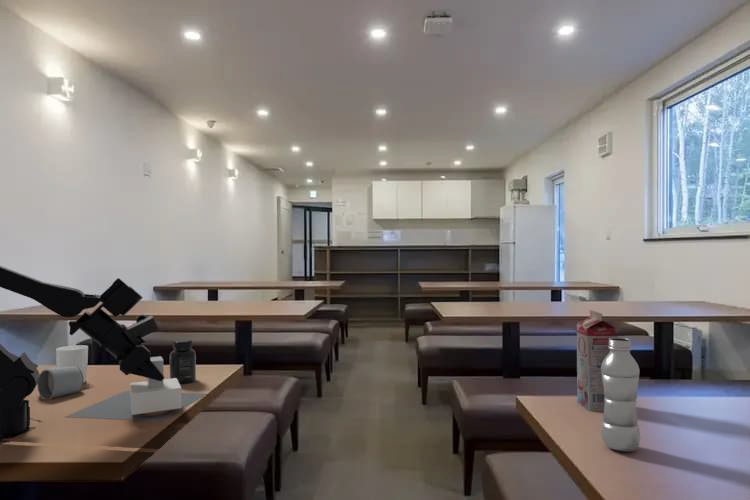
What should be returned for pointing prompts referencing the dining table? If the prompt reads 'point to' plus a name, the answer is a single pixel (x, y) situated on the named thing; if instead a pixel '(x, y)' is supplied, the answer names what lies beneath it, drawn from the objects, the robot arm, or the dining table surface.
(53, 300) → the robot arm
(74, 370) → the ceramic mug
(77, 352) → the white cup
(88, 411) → the mat
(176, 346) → the supplement bottle
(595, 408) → the juice carton
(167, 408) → the cover
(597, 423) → the dining table surface
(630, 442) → the plastic bottle
